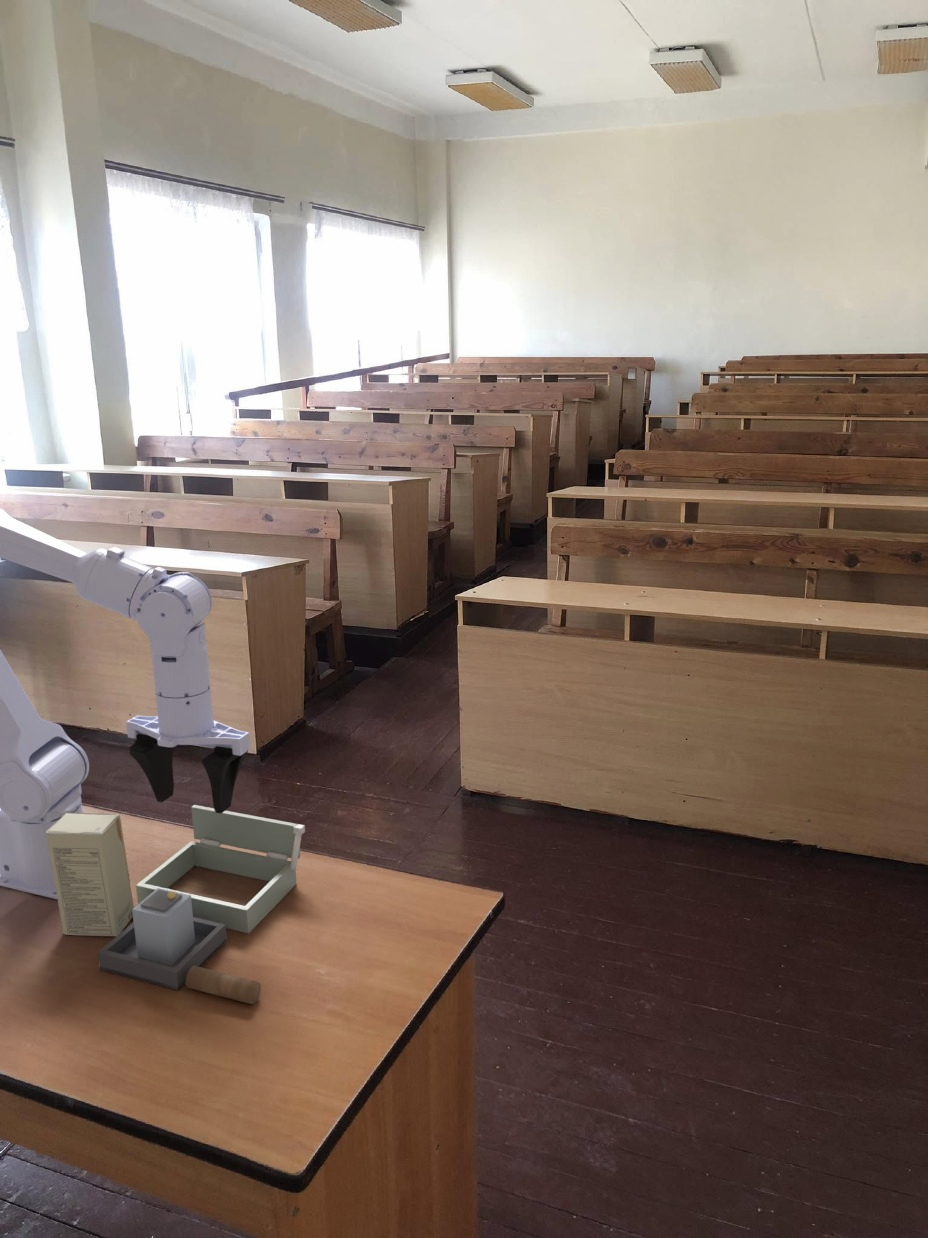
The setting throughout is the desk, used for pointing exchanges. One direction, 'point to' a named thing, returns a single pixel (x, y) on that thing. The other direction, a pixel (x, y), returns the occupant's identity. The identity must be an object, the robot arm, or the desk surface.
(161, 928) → the block
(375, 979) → the desk surface
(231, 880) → the desk surface
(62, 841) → the skincare box
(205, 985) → the rod
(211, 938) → the socket
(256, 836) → the equipment case
